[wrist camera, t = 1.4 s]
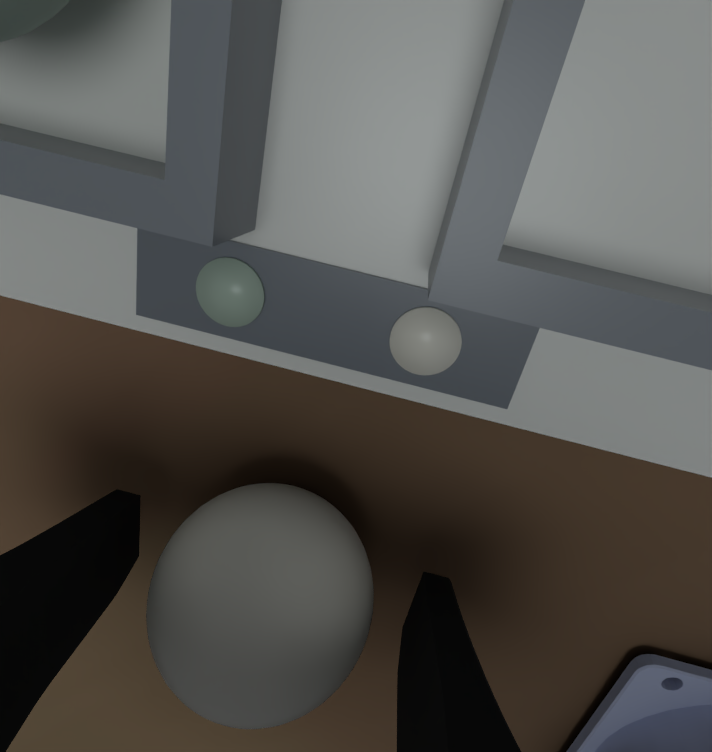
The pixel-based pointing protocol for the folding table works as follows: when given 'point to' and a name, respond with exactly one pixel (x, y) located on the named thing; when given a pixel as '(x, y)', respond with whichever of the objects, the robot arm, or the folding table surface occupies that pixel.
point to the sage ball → (25, 15)
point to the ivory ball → (260, 606)
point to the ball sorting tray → (386, 198)
